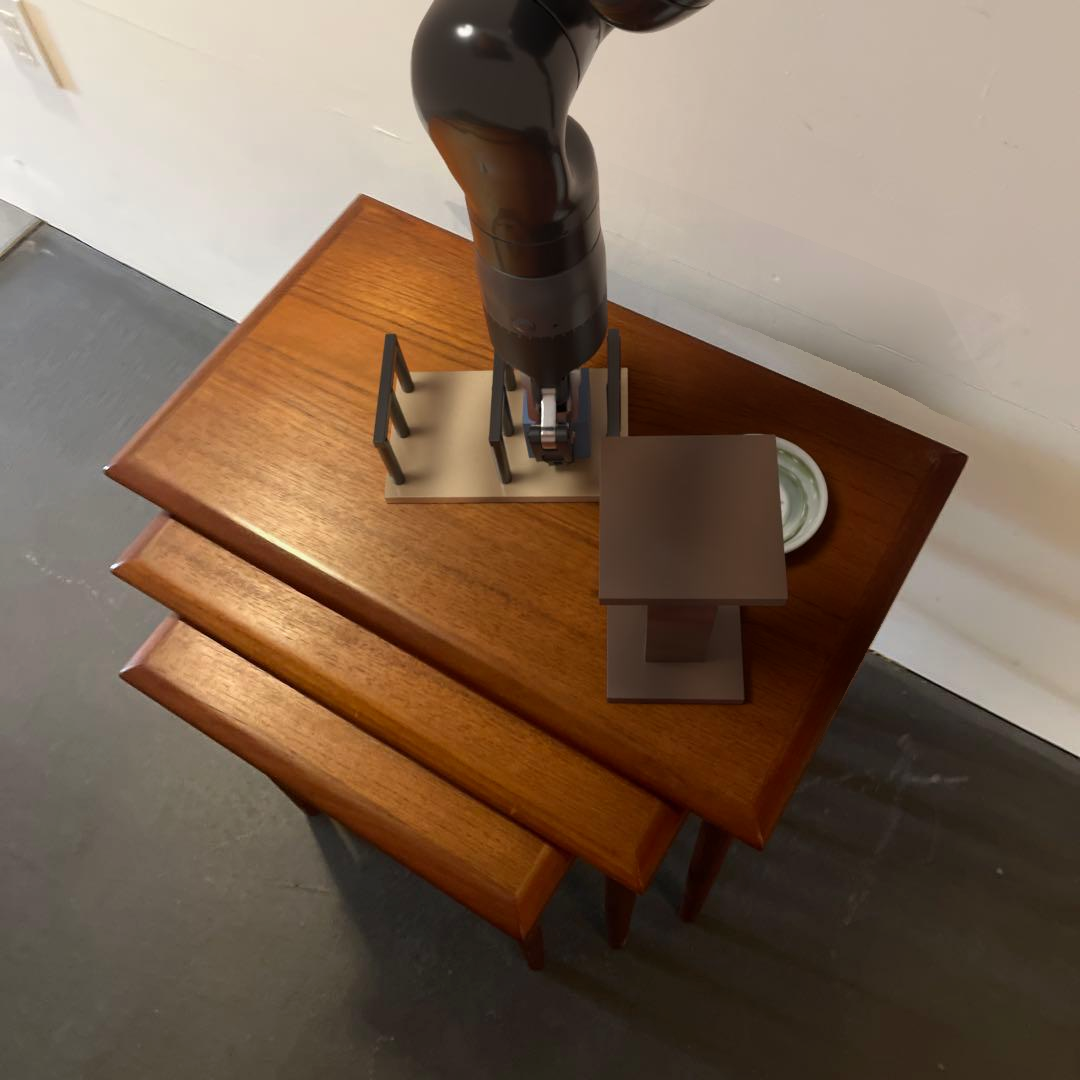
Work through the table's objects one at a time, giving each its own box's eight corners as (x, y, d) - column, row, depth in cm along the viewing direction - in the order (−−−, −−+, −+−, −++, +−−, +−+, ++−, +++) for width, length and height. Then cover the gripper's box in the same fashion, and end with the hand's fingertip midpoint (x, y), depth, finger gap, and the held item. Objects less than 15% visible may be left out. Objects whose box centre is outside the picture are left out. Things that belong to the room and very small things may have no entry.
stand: (736, 578, 68) (775, 434, 50) (742, 704, 64) (788, 598, 46) (607, 578, 69) (600, 436, 51) (606, 702, 65) (598, 598, 47)
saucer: (793, 434, 72) (798, 416, 70) (843, 548, 68) (850, 533, 66) (668, 468, 72) (669, 452, 70) (711, 585, 68) (714, 572, 66)
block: (591, 404, 74) (588, 366, 69) (590, 457, 72) (588, 422, 67) (530, 405, 74) (524, 367, 69) (528, 458, 72) (522, 423, 68)
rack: (627, 374, 76) (627, 316, 69) (628, 501, 71) (628, 452, 64) (400, 378, 77) (378, 322, 70) (386, 503, 73) (362, 455, 66)
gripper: (606, 383, 54) (610, 515, 69) (607, 185, 60) (611, 348, 75) (472, 385, 55) (506, 515, 70) (486, 189, 60) (514, 350, 76)
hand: (560, 428), depth 73 cm, fingers closed on block, 4 cm apart
